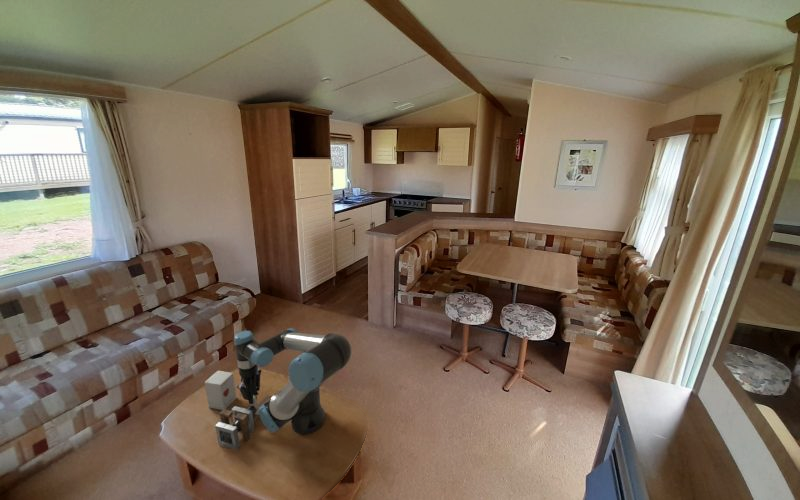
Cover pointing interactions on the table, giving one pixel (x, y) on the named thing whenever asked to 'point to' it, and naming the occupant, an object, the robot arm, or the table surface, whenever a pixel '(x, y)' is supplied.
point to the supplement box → (220, 390)
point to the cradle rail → (263, 401)
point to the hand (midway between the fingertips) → (253, 407)
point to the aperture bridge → (239, 417)
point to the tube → (237, 425)
